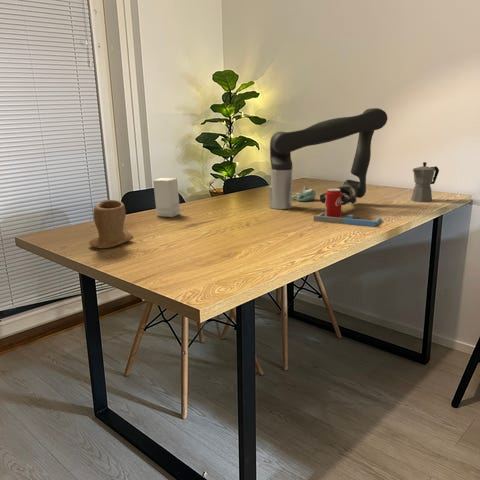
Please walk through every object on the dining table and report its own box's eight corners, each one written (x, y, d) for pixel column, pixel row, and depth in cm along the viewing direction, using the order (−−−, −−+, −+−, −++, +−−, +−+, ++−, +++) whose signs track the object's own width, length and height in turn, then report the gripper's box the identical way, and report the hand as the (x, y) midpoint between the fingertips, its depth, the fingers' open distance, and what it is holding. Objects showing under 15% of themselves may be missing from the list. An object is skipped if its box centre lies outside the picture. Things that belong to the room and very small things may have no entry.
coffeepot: (417, 203, 215) (421, 164, 210) (403, 200, 224) (406, 162, 219) (443, 200, 221) (447, 162, 216) (428, 197, 229) (431, 160, 224)
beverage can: (340, 221, 185) (342, 190, 182) (324, 220, 186) (325, 190, 183) (340, 217, 191) (342, 188, 187) (325, 217, 192) (325, 187, 189)
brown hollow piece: (108, 253, 148) (103, 206, 144) (84, 247, 155) (79, 202, 151) (143, 241, 160) (140, 198, 156) (119, 237, 167) (116, 195, 163)
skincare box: (180, 214, 201) (178, 178, 196) (171, 217, 195) (169, 180, 191) (163, 213, 204) (161, 177, 200) (155, 216, 198) (152, 179, 194)
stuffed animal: (290, 187, 233) (314, 182, 230) (293, 201, 234) (317, 197, 231) (288, 190, 222) (313, 186, 220) (291, 205, 224) (316, 201, 221)
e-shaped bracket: (313, 220, 186) (313, 215, 185) (322, 215, 195) (322, 210, 195) (374, 226, 175) (375, 221, 175) (381, 220, 185) (381, 215, 184)
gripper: (328, 184, 202) (316, 190, 188) (361, 186, 196) (351, 193, 182) (327, 202, 204) (315, 209, 190) (360, 204, 198) (350, 212, 184)
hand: (333, 201), depth 186 cm, fingers open, 8 cm apart
